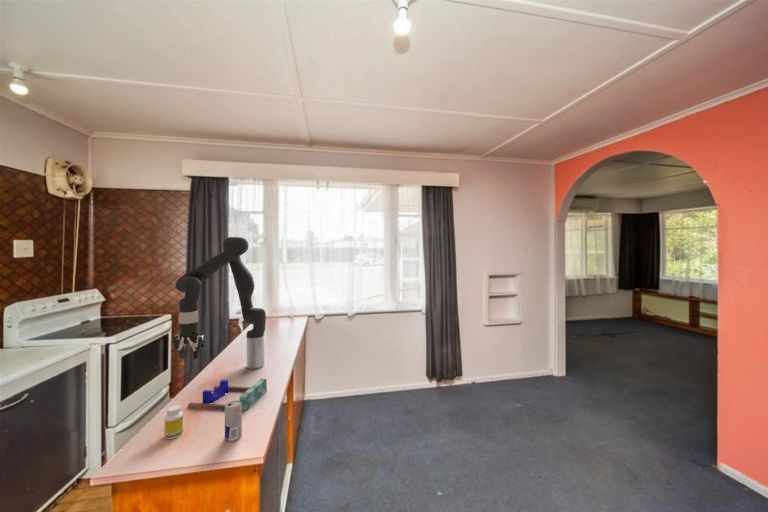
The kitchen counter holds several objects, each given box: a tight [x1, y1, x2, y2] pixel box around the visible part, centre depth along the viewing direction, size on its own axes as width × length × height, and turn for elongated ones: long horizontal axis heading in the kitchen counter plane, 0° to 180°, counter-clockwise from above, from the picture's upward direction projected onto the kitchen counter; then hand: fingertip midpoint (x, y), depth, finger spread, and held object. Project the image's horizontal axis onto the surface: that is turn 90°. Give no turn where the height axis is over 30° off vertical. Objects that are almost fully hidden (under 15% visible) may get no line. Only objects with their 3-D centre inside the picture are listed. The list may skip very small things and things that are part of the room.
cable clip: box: [202, 379, 229, 404], centre depth 137 cm, size 12×4×6 cm, turn 169°
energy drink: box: [224, 400, 243, 443], centre depth 108 cm, size 5×5×12 cm
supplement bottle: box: [164, 404, 184, 440], centre depth 109 cm, size 5×5×10 cm
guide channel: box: [187, 378, 268, 412], centre depth 136 cm, size 18×26×6 cm
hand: (189, 358), depth 138 cm, fingers open, 5 cm apart
